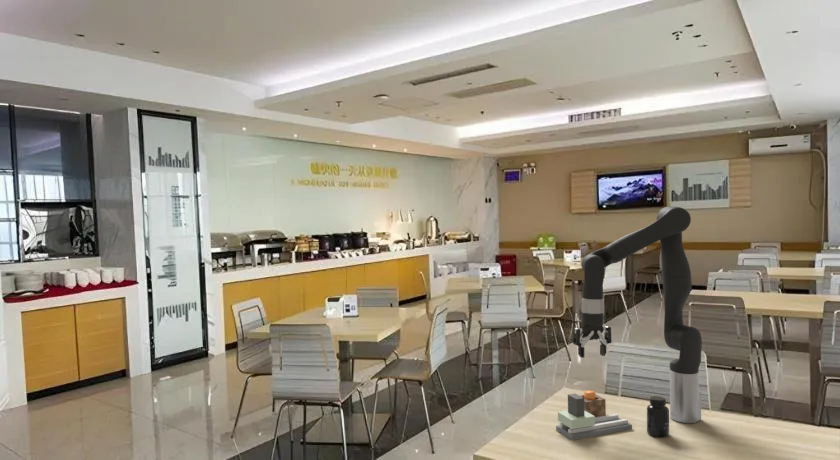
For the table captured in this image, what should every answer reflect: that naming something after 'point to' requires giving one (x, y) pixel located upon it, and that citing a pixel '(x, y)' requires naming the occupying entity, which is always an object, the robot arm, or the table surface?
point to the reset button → (589, 395)
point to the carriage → (576, 413)
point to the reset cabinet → (595, 406)
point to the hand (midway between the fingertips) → (592, 356)
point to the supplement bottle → (657, 417)
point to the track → (596, 427)
